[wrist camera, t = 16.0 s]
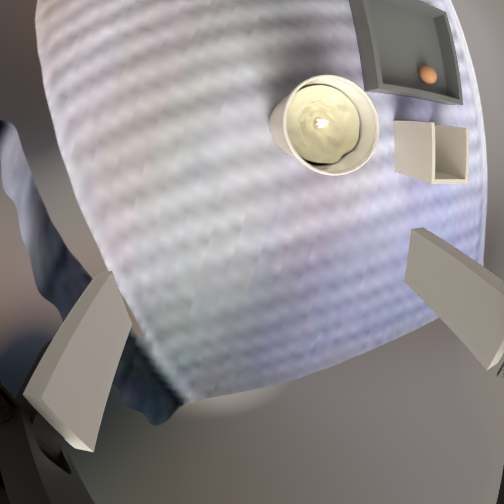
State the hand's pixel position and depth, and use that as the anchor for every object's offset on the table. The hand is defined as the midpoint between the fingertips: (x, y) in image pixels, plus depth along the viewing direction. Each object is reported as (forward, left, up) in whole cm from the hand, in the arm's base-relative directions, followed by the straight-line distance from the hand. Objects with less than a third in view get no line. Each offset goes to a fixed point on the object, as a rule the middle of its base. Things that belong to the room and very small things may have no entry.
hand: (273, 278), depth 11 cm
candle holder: (-6, +9, -27) cm, 29 cm away
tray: (-20, +28, -27) cm, 44 cm away
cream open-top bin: (-3, +28, -27) cm, 39 cm away
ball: (-15, +30, -24) cm, 42 cm away
